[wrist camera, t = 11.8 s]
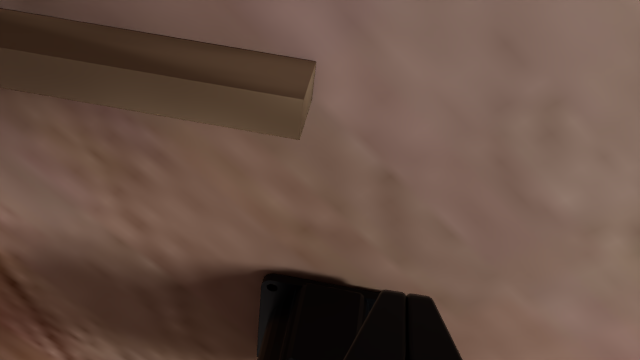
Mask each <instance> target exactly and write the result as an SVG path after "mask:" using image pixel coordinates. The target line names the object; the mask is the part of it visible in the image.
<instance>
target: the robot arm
mask: <svg viewBox="0 0 640 360" xmlns="http://www.w3.org/2000/svg"><path fill="white" fill-rule="evenodd" d="M273 284H274V285H273ZM257 357H258V359H257V360H462V358H461V356H460V354H459V352H458V350H457V348H456V346H455V344H454V342H453V340H452V338H451V336H450V334H449V331H448V329H447V327H446V325H445V323H444V321H443V319H442V317H441V315H440V313H439V311H438V309H437V307H436V305H435V303H434V301H433V300H432V298H430V297H429V296H424V295H418V294H408V295H407V296H406V295H405V294H404V293H403V292H398V291H391V290H383V291H381V293H374V292H369V291H364V290H358V289H353V288H348V287H342V286H337V285H331V284H326V283H321V282H315V281H310V280H305V279H299V278H294V277H288V276H283V275H278V274H267V275H266V276H264V279H263V282H262V285H261V299H260V314H259V329H258V345H257Z"/></svg>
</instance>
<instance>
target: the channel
mask: <svg viewBox="0 0 640 360" xmlns="http://www.w3.org/2000/svg"><path fill="white" fill-rule="evenodd" d="M315 67H316V62H315V61H309V60H303V59H297V58H291V57H285V56H279V55H273V54H267V53H261V52H255V51H249V50H243V49H238V48H232V47H226V46H220V45H214V44H208V43H202V42H196V41H190V40H184V39H178V38H172V37H166V36H161V35H155V34H149V33H143V32H137V31H131V30H125V29H119V28H113V27H107V26H101V25H95V24H89V23H84V22H78V21H72V20H66V19H60V18H54V17H48V16H42V15H36V14H30V13H24V12H18V11H12V10H7V9H1V8H0V88H5V89H11V90H17V91H23V92H28V93H34V94H40V95H45V96H51V97H57V98H63V99H68V100H74V101H80V102H85V103H91V104H97V105H102V106H108V107H114V108H120V109H125V110H131V111H137V112H142V113H148V114H154V115H160V116H165V117H171V118H177V119H182V120H188V121H194V122H199V123H205V124H211V125H217V126H222V127H228V128H234V129H239V130H245V131H251V132H257V133H262V134H268V135H274V136H279V137H285V138H291V139H296V140H300V137H301V133H302V130H303V127H304V124H305V120H306V117H307V114H308V111H309V107H310V104H311V101H312V93H313V85H314V76H315Z"/></svg>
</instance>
